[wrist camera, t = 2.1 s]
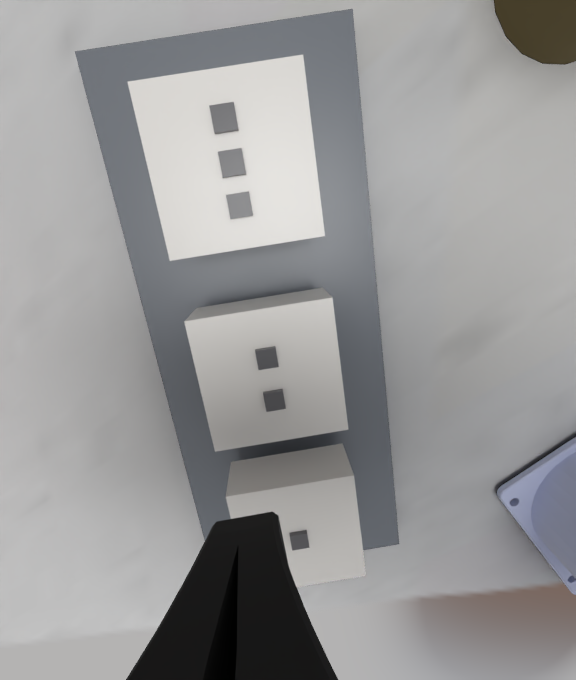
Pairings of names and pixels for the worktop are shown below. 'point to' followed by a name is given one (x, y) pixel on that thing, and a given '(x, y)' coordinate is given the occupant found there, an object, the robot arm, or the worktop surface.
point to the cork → (540, 28)
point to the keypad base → (258, 249)
